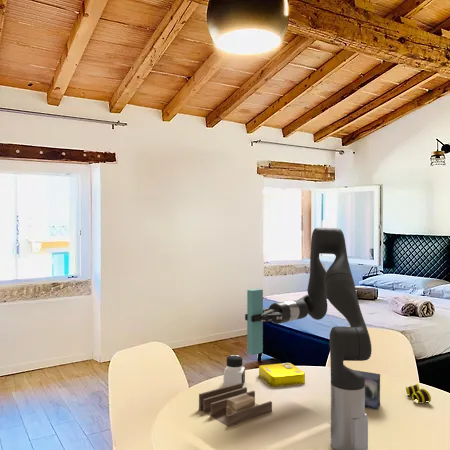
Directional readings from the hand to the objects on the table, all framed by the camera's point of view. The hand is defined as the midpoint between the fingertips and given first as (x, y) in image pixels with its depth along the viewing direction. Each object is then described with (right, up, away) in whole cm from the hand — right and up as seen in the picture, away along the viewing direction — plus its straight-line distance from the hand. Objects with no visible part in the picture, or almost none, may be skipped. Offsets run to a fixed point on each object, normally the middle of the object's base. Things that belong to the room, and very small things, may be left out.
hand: (248, 318), depth 151 cm
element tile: (+15, -31, +27) cm, 43 cm away
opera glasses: (+60, -31, +6) cm, 68 cm away
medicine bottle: (-5, -30, +17) cm, 35 cm away
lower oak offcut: (-3, -28, -10) cm, 30 cm away
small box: (+40, -30, +2) cm, 50 cm away
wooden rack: (-5, -30, -8) cm, 31 cm away
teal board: (+2, -12, +2) cm, 13 cm away
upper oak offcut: (-3, -26, -11) cm, 28 cm away
